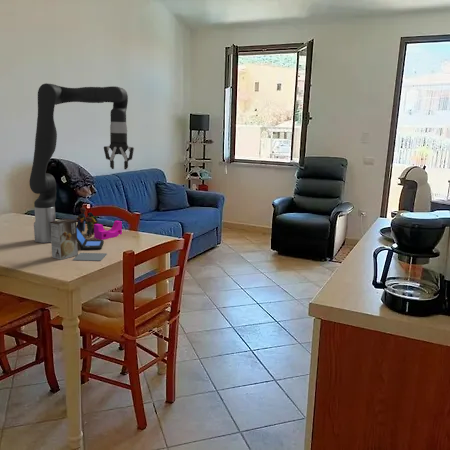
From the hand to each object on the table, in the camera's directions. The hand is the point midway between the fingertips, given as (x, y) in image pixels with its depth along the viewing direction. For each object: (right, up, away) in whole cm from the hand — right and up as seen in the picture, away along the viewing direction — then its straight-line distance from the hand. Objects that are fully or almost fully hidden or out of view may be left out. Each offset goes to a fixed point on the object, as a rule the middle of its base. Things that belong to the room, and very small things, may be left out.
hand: (119, 168), depth 206 cm
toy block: (-11, -33, +26) cm, 43 cm away
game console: (-17, -37, +6) cm, 41 cm away
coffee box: (-21, -40, -12) cm, 47 cm away
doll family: (-25, -31, +30) cm, 50 cm away
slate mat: (-10, -41, -12) cm, 43 cm away
